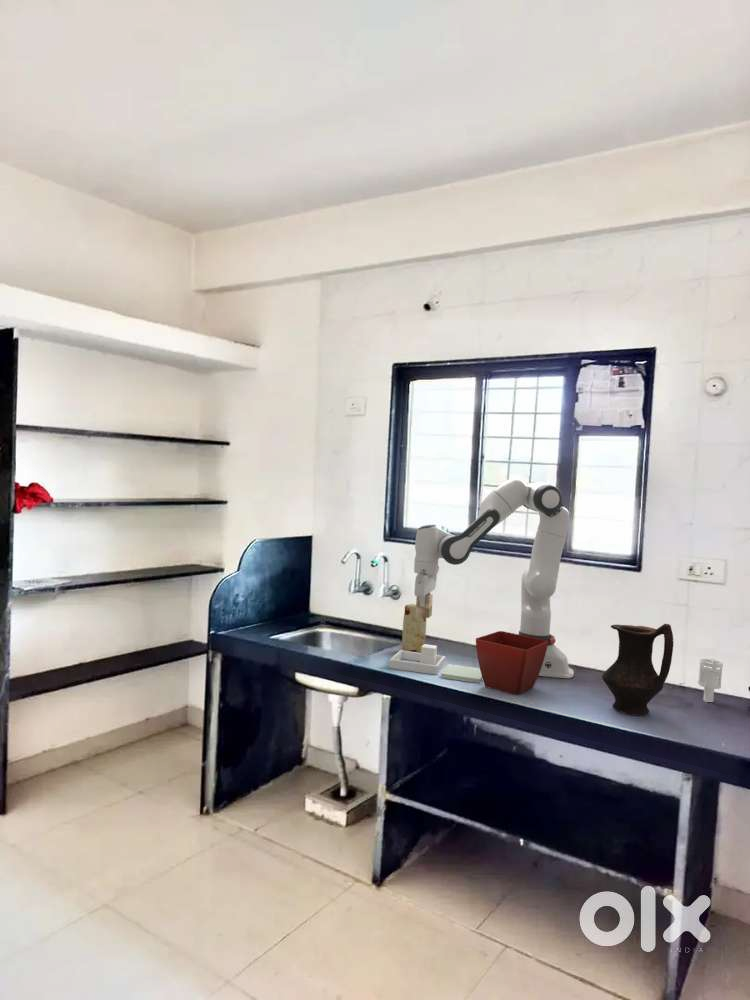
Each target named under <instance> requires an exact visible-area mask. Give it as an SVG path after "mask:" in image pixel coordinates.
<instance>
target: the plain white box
mask: <svg viewBox="0 0 750 1000" xmlns="http://www.w3.org/2000/svg"><path fill="white" fill-rule="evenodd" d="M437 653H438V645H433V644H428V643H425V644H424V645H423V646H422V647H421V660H420V661H419V663H421V664H428V665H436V657H437V655H438V654H437Z"/></svg>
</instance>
